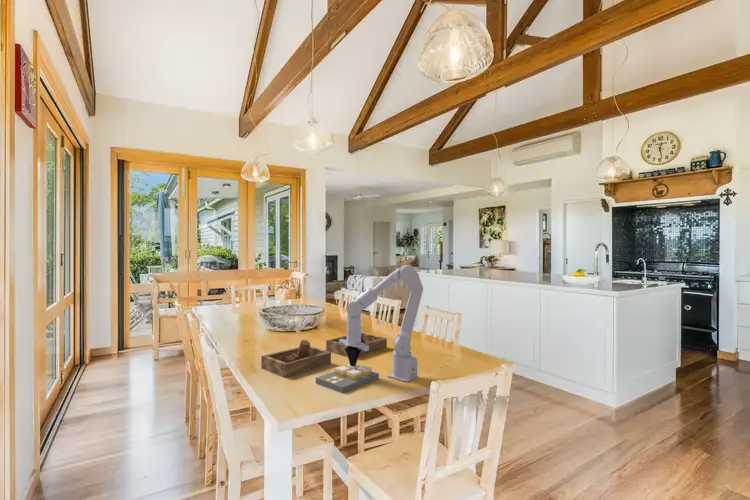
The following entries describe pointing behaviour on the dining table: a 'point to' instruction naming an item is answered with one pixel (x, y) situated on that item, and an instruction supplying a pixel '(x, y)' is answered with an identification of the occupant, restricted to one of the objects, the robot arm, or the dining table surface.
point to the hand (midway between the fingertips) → (353, 365)
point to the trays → (316, 356)
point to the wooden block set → (299, 352)
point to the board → (344, 381)
